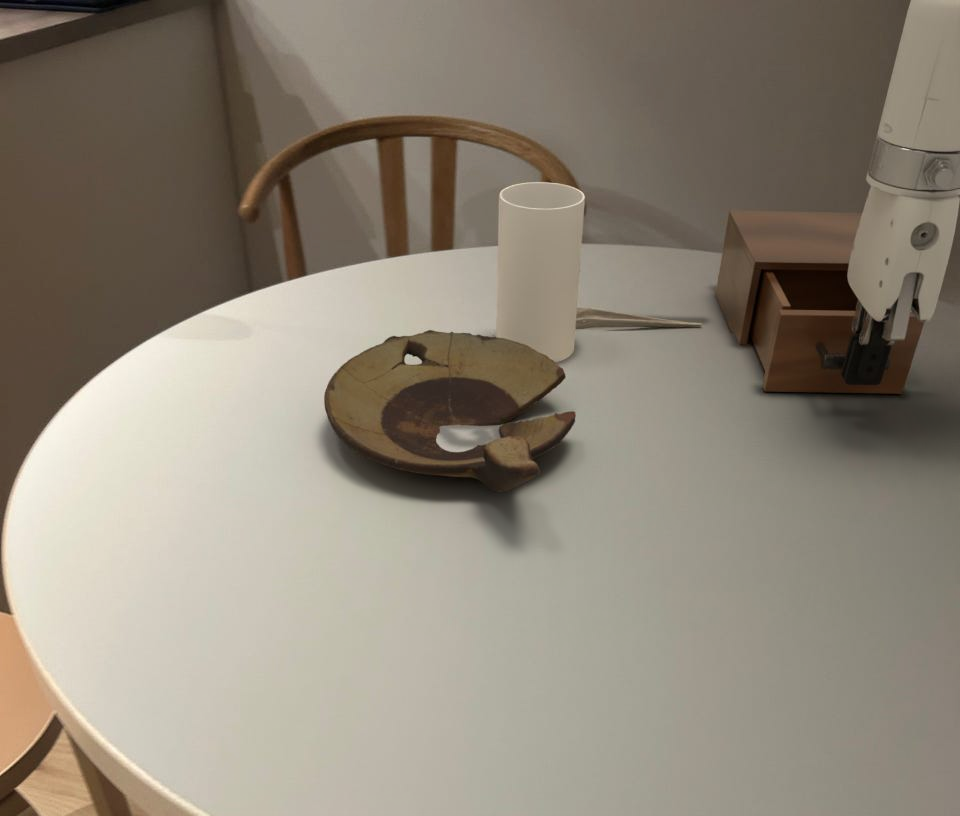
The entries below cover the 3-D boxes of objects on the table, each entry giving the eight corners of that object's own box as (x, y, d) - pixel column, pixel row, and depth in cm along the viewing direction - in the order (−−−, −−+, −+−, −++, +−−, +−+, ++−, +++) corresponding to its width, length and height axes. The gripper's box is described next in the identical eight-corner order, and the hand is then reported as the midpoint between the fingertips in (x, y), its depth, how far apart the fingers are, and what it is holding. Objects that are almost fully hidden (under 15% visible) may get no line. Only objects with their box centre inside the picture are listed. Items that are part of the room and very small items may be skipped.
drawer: (915, 415, 94) (941, 336, 88) (773, 412, 94) (790, 333, 89) (862, 331, 108) (882, 259, 103) (739, 329, 108) (752, 257, 103)
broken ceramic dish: (563, 378, 101) (568, 305, 96) (586, 553, 78) (594, 468, 73) (343, 376, 101) (337, 303, 96) (302, 550, 78) (291, 465, 73)
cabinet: (875, 354, 105) (901, 264, 99) (737, 352, 106) (754, 261, 99) (839, 296, 117) (860, 212, 111) (715, 294, 117) (729, 210, 111)
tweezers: (546, 335, 108) (548, 317, 107) (543, 318, 112) (545, 301, 111) (703, 346, 109) (707, 328, 108) (695, 328, 113) (699, 311, 112)
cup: (484, 362, 103) (486, 202, 93) (512, 331, 109) (516, 177, 99) (558, 376, 101) (569, 214, 91) (583, 344, 107) (595, 188, 96)
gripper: (1004, 195, 72) (927, 422, 84) (937, 139, 83) (877, 345, 95) (901, 194, 72) (839, 420, 84) (847, 137, 83) (799, 344, 96)
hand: (860, 380), depth 90 cm, fingers closed
